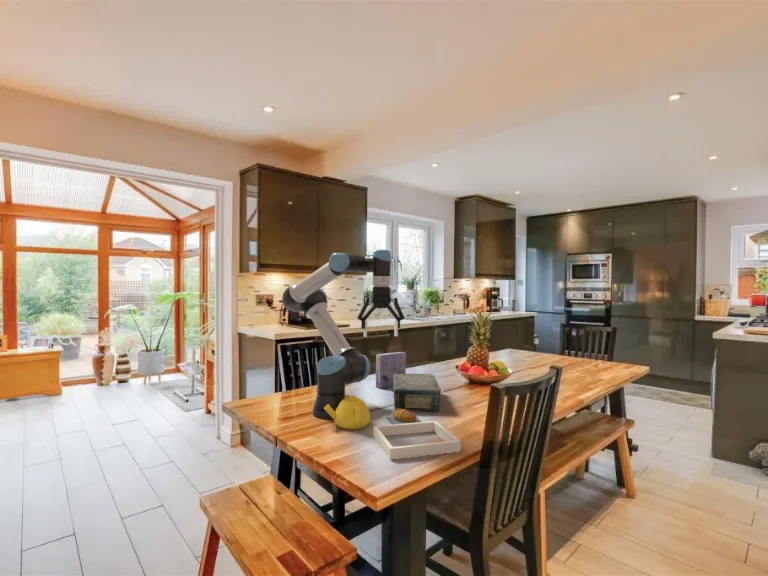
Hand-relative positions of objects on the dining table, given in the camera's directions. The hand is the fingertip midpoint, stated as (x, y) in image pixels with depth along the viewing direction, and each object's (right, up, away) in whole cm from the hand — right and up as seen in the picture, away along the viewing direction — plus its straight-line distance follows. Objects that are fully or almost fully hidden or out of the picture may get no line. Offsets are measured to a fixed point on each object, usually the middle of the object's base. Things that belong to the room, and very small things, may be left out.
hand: (380, 336), depth 169 cm
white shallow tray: (+12, -33, -31) cm, 47 cm away
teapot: (-13, -33, -14) cm, 38 cm away
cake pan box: (+5, -33, +47) cm, 57 cm away
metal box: (+16, -33, +19) cm, 42 cm away
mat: (+10, -33, -10) cm, 36 cm away
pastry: (+10, -33, -9) cm, 35 cm away
